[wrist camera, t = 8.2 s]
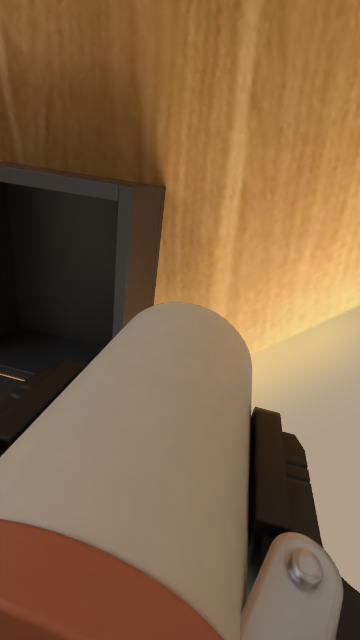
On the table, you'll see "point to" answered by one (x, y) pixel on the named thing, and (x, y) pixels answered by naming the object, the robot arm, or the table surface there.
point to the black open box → (72, 263)
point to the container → (134, 491)
